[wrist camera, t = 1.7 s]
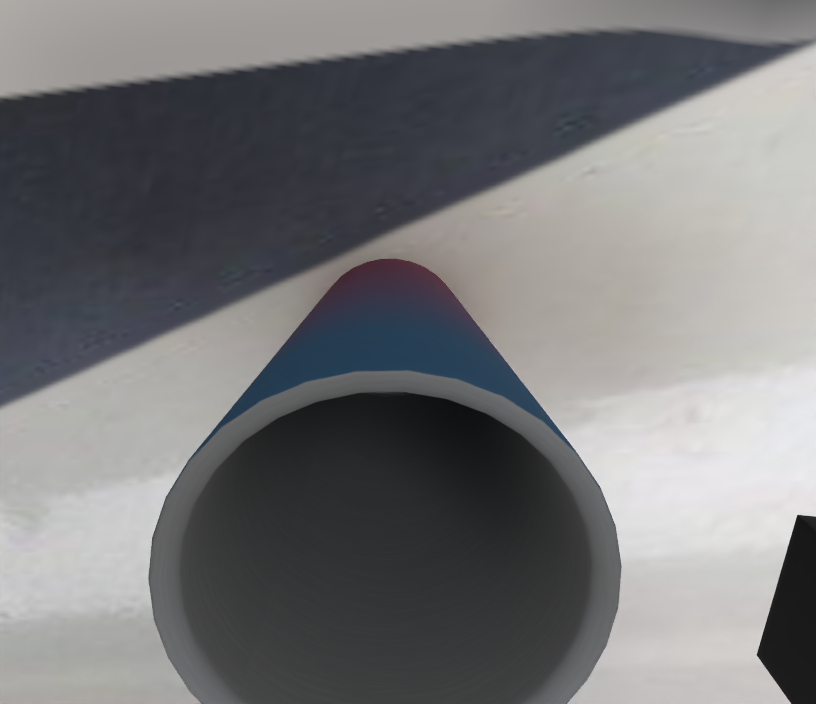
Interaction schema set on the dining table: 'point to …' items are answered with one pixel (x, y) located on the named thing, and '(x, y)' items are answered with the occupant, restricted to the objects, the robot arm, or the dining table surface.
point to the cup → (385, 521)
